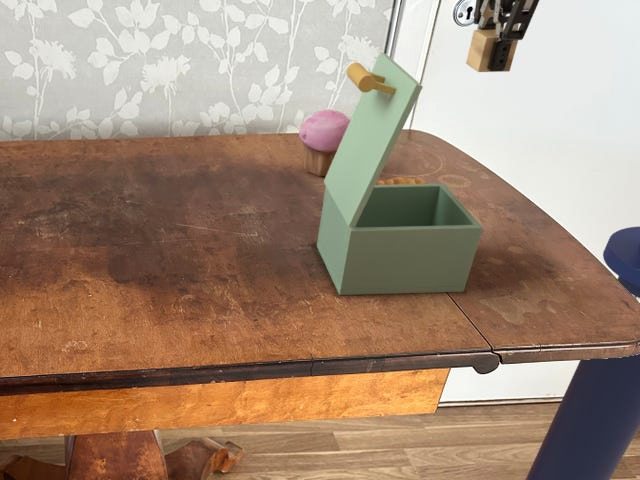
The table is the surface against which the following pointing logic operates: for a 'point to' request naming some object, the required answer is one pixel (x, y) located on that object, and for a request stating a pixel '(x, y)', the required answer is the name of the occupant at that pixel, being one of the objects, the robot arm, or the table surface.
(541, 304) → the table surface
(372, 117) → the lid
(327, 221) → the chest
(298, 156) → the table surface
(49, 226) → the table surface
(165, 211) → the table surface
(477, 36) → the block
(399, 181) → the pastry
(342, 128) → the cupcake
